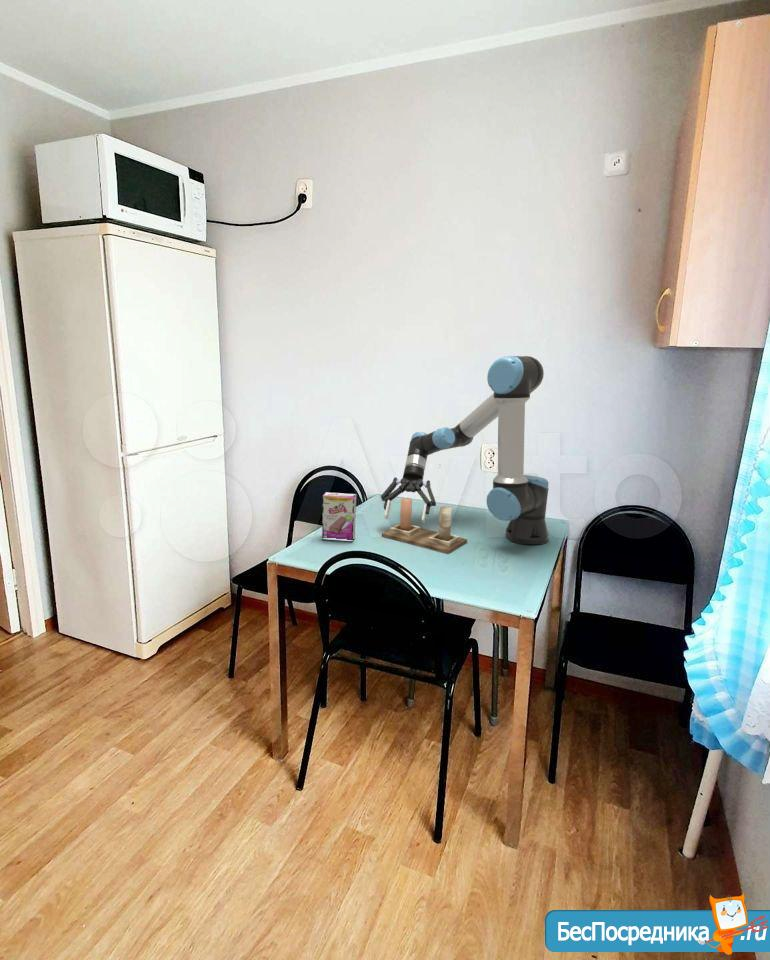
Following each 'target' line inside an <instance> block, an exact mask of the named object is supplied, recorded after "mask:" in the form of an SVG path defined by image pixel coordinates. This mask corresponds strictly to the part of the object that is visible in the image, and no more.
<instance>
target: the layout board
mask: <svg viewBox="0 0 770 960" xmlns="http://www.w3.org/2000/svg"><path fill="white" fill-rule="evenodd" d="M452 511H453V509H452V507H450V506H441V507H439V518H438V519H439V520H438V522H439V523H438V531H435V530H430V529H426V528H422V527H420V526H418V525H413V524H411V530H410V531H404V530H400V523H398V524H396V525H394V526H391V527H389V530H386V531H384V532H382V533H381V537H384V538H385V539H389V540H395V541H398V542H402V543H405V544H410V545H412V546H416V547H420V548H424V549H428V550H431V551H432V550H433V551H435V552H439V553H443V554H446V555H448V554H450V553H452V552H454V551H456V550H457V549H459V548H460V547H462V546H463V545H465V544H467V543H468V538H464V537H460V536H459V535H455V534H452V533H451V529H452V528H451V527H452V525H451V524H452Z"/></svg>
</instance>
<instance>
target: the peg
mask: <svg viewBox="0 0 770 960" xmlns="http://www.w3.org/2000/svg"><path fill="white" fill-rule="evenodd" d="M412 508H413V499H412V498H409V497H402V498H401V499H400V518H399V524H400V530H404V531H410V530H411V525H412V515H413V513H412V511H413V509H412Z"/></svg>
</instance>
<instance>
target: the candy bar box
mask: <svg viewBox="0 0 770 960" xmlns="http://www.w3.org/2000/svg"><path fill="white" fill-rule="evenodd" d="M356 512H357V494H356V493H341V492H330V491H329V492H327V491H326V492H324V493H323V495H322V519H321V520H322V522H321V524H322V525H321V526H322V527H321V530H322V531H321V539H322V538H336V539H347V540H353V539H354V537H355V538H356V521H357V520H356V518H357V516H356ZM354 540H355V539H354ZM354 540H353V541H354Z"/></svg>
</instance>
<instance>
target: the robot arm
mask: <svg viewBox="0 0 770 960" xmlns="http://www.w3.org/2000/svg"><path fill="white" fill-rule="evenodd" d="M544 374H545V373H544V367H543V365H542V363H541V362H540V361H539V360H538V359H537V358H535V357H533V356H528V355H525V356H523V355H520V356H519V355H509V356H502V357H499V358H497V359H496V360H495V361H493V362H492V364H491V365H490V367H489V369H488V371H487V375H486V376H487V378H486V379H487V380H486V381H487V384H488V387H490V389H491V391H492V392H493V393H492V394H491V395H489V397H487V398H486V399H485V400H484V401H483V402H482V403H481V404H479V405H478V406H477V407H476V408H475V409H474V410H472V411H471V413H469V414H468V415H467V416H466V417H465V418H464V419H462V420H461V421H460V422H459V423H458V424H457V425H456V426H454V427H452V428H449V427H447V426H444V427H442V428H438V429H436V430H435V431H434V430H433V431H432V432H429V433H426V432H423V431H418V432H417V431H416V432H414V433H413V434H412V436H411V439H410V441H409V447H408V451H407V456H406V461H405V464H404V469H403V473H402V474H403V475H402V478H401V479H399V478H398V477H394V478H393V479H392V482H391V483H389V485H388V487H387V488H386V489H385V491H384V492H383V493H382V494H381V496H380V498H381V501H383V502H384V505H383V509H384V510H385V511H384V515H383V516H384V519H385V520H388V519H389V515H390V511H391V505H392V503H391V502H392V501H393V500H394V499H395V498H397V497H399V495H400V494H403V493H404V492H406V493H414V494H415V493H417V494H418V495H419V496H420V498H421V499H422V501H423V502H424V506H423V512H422V514H421V515H422V516H421V522H422V524H425V521H426V517H427V515H429V514H430V511H431V507H432V506H433V507H436V506H437V502H436V499H435V496H434V493H433V491H432V488H431V481H430V480H426V481H424V475H425V470H426V465H427V460H428V456H430V455H433V454H435V453H438V452H440V451H444V450H450V449H456V448H459V447H460V448H462V447H465V446H468V445H470V444H471V443H473V440H474V437H476V435H478V434H479V433H480V432H481V431H483V429H485V428H486V427H487V426H488V425H489V424H491V423H492V422H493V421H495V420H496V419H498V420H497V474H496V476H495V477H494V478H493V479H492V489H490V491H489V492H488V494H487V496H486V505H487V506H486V507H487V509H488V511H489V512H490V513H491V514H492V516H493V517H494V518H496V519H497V520H499V521H503V522H506V521H507V522H508V524H507V527H506V528H505V534H504V535H505V539H507V540H509V541H511V542H513V543H516V544H520V543H521V544H520V545H526V544H540V545H543V544H542V543H544V544H546V543H548V541H549V531H548V527H547V523H546V513H547V512H546V511H547V505H548V504H547V503H548V496H549V495H548V494H549V490H550V488H549V481H548V479H546V478H544V477H540V476H535V475H529V474H524V473H525V472H524V469H525V467H524V466H525V426H526V423H525V420H526V419H525V417H526V403H527V401H529V400H530V398H531V394H532V393H533V392H535V390H536V389H538V387H539V386H540V385H541V384H542V382H543V380H544ZM399 484H400V485H399ZM397 486H398V487H397ZM423 486H424V487H425V488H426V491H427V494H428V495H429V496H428V497H429V498H428V497H427V495H426V494H425V493H424V491H423V490H422V487H423ZM396 487H397V488H396ZM429 499H430V500H429ZM545 542H546V543H545Z"/></svg>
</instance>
